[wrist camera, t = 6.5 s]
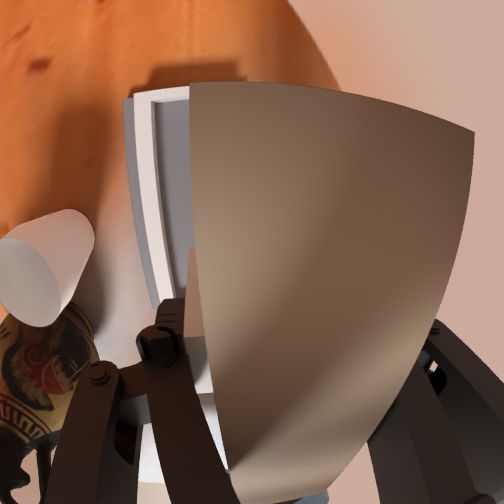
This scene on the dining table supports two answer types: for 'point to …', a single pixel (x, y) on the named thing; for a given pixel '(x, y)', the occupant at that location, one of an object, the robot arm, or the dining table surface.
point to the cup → (44, 265)
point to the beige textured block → (316, 267)
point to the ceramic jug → (38, 390)
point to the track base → (161, 187)
